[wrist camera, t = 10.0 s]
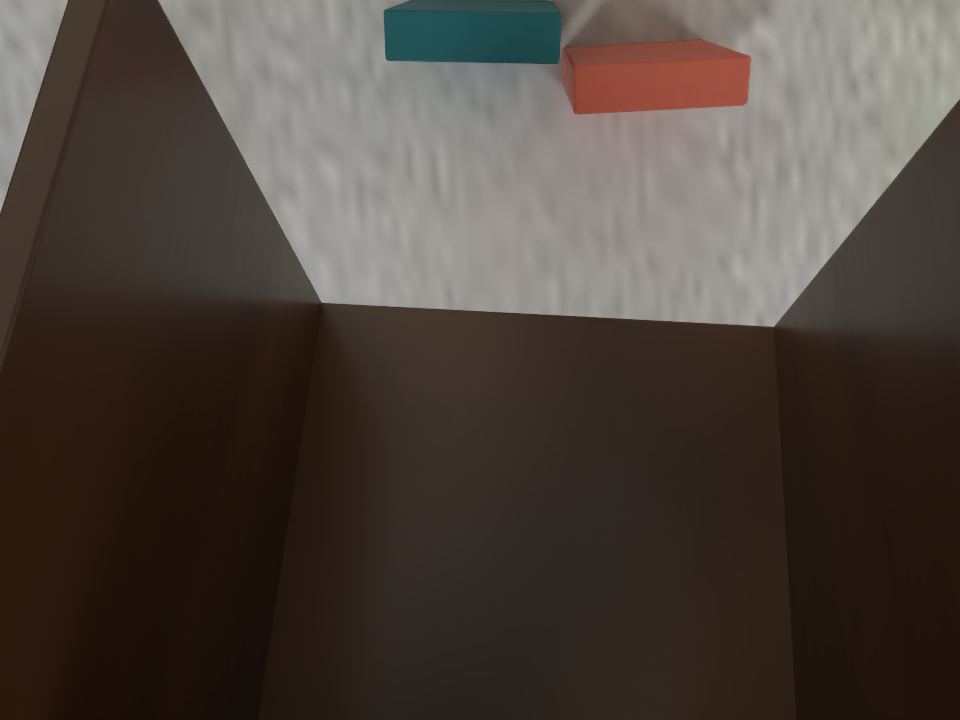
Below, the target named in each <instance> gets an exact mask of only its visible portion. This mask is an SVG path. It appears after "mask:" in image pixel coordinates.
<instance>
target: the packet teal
mask: <svg viewBox="0 0 960 720" xmlns="http://www.w3.org/2000/svg"><path fill="white" fill-rule="evenodd" d="M561 16H562V15H561V13H560V11H559V10H558V8H557V7H556V5H555V4H554V2H553V1H538V0H410V1H407V2H405V3H402V4H399V5H397V6H394V7H391V8H389V9H386V10H384V30H385V56H386V60H388V61H426V62H479V63H532V64H557V63H558V62H559V53H560V34H561Z"/></svg>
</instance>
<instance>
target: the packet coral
mask: <svg viewBox="0 0 960 720" xmlns="http://www.w3.org/2000/svg"><path fill="white" fill-rule="evenodd" d="M750 62H751V58H750V56H748V55H745V54H742V53H739V52H736V51H733V50H730V49H727V48H724V47H721V46H718V45H715V44H712V43H709V42H706V41H703V40H684V41H667V42H650V43H634V44H617V45H600V46H583V47H567V48H564V49H563V85H564V88H565V90H566V93H567V96H568V98H569V101H570V103H571V106H572V108H573V111H574V113H575V114H593V113H612V112H630V111H649V110H667V109H686V108H704V107H723V106H742V105H745V104H746V103H747V99H748V87H749V74H750Z"/></svg>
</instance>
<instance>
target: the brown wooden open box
mask: <svg viewBox="0 0 960 720" xmlns="http://www.w3.org/2000/svg"><path fill="white" fill-rule="evenodd" d="M0 720H960V99H959V101H958V102H957V103H956V104H955V106H954V107H953V108H952V109H951V110H950V112H949V113H948V114H947V115H946V117H945V118H944V119H943V120H942V122H941V123H940V124H939V125H938V126H937V128H936V129H935V130H934V131H933V133H932V134H931V135H930V136H929V137H928V139H927V140H926V141H925V142H924V144H923V145H922V146H921V147H920V149H919V150H918V151H917V152H916V153H915V155H914V156H913V157H912V158H911V160H910V161H909V162H908V163H907V164H906V166H905V167H904V168H903V169H902V171H901V172H900V173H899V174H898V175H897V177H896V178H895V179H894V180H893V182H892V183H891V184H890V185H889V187H888V188H887V189H886V190H885V191H884V193H883V194H882V195H881V196H880V198H879V199H878V200H877V201H876V202H875V204H874V205H873V206H872V207H871V209H870V210H869V211H868V212H867V214H866V215H865V216H864V217H863V218H862V220H861V221H860V222H859V223H858V225H857V226H856V227H855V228H854V229H853V231H852V232H851V233H850V234H849V236H848V237H847V238H846V239H845V241H844V242H843V243H842V244H841V245H840V247H839V248H838V249H837V250H836V252H835V253H834V254H833V255H832V256H831V258H830V259H829V260H828V261H827V263H826V264H825V265H824V266H823V268H822V269H821V270H820V271H819V272H818V274H817V275H816V276H815V277H814V279H813V280H812V281H811V282H810V283H809V285H808V286H807V287H806V288H805V290H804V291H803V292H802V293H801V295H800V296H799V297H798V298H797V299H796V301H795V302H794V303H793V304H792V306H791V307H790V308H789V309H788V310H787V312H786V313H785V314H784V315H783V317H782V318H781V319H780V320H779V321H778V323H777V324H776V325H775V326H774V327H766V326H747V325H728V324H709V323H690V322H672V321H653V320H634V319H615V318H596V317H577V316H558V315H539V314H521V313H502V312H483V311H464V310H445V309H426V308H407V307H388V306H370V305H351V304H332V303H322V302H321V300H320V299H319V297H318V295H317V293H316V291H315V289H314V288H313V286H312V284H311V282H310V280H309V278H308V276H307V275H306V273H305V271H304V269H303V267H302V265H301V264H300V262H299V260H298V258H297V256H296V254H295V252H294V251H293V249H292V247H291V245H290V243H289V241H288V240H287V238H286V236H285V234H284V232H283V230H282V228H281V227H280V225H279V223H278V221H277V219H276V217H275V216H274V214H273V212H272V210H271V208H270V206H269V204H268V203H267V201H266V199H265V197H264V195H263V193H262V192H261V190H260V188H259V186H258V184H257V182H256V180H255V179H254V177H253V175H252V173H251V171H250V169H249V168H248V166H247V164H246V162H245V160H244V158H243V156H242V155H241V153H240V151H239V149H238V147H237V145H236V144H235V142H234V140H233V138H232V136H231V134H230V132H229V131H228V129H227V127H226V125H225V123H224V121H223V120H222V118H221V116H220V114H219V112H218V110H217V108H216V107H215V105H214V103H213V101H212V99H211V97H210V96H209V94H208V92H207V90H206V88H205V86H204V85H203V83H202V81H201V79H200V77H199V75H198V73H197V72H196V70H195V68H194V66H193V64H192V62H191V61H190V59H189V57H188V55H187V53H186V51H185V49H184V48H183V46H182V44H181V42H180V40H179V38H178V37H177V35H176V33H175V31H174V29H173V27H172V25H171V24H170V22H169V20H168V18H167V16H166V14H165V13H164V11H163V9H162V7H161V5H160V3H159V1H158V0H68V3H67V6H66V9H65V12H64V16H63V19H62V22H61V25H60V28H59V31H58V34H57V37H56V41H55V44H54V47H53V50H52V53H51V56H50V59H49V63H48V66H47V69H46V72H45V75H44V78H43V81H42V84H41V88H40V91H39V94H38V97H37V100H36V103H35V106H34V110H33V113H32V116H31V119H30V122H29V125H28V128H27V131H26V135H25V138H24V141H23V144H22V147H21V150H20V153H19V157H18V160H17V163H16V166H15V169H14V172H13V175H12V178H11V182H10V185H9V188H8V191H7V194H6V197H5V200H4V204H3V207H2V210H1V213H0Z"/></svg>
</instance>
